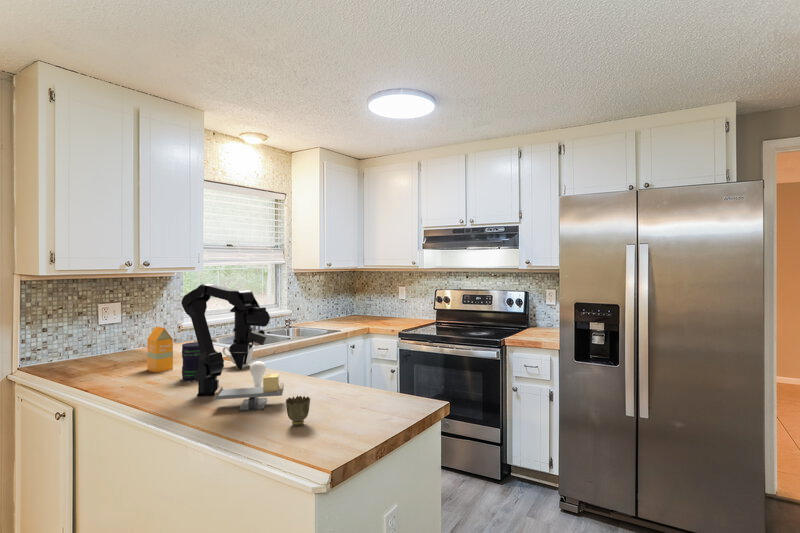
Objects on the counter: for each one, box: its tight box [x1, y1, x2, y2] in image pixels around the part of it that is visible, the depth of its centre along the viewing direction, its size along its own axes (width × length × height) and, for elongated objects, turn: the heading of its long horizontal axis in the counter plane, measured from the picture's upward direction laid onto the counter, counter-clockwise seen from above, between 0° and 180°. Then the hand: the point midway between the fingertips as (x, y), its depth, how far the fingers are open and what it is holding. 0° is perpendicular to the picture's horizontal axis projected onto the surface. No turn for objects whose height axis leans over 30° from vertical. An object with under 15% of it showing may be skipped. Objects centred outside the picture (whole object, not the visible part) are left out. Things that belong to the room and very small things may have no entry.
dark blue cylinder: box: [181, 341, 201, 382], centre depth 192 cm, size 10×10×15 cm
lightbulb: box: [249, 360, 267, 388], centre depth 176 cm, size 6×6×11 cm
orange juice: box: [146, 326, 174, 373], centre depth 207 cm, size 8×9×20 cm
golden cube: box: [262, 373, 280, 392], centre depth 156 cm, size 5×5×5 cm
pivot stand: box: [238, 397, 268, 413], centre depth 155 cm, size 8×12×4 cm, turn 11°
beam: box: [214, 382, 285, 401], centre depth 155 cm, size 22×8×2 cm, turn 101°
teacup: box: [222, 344, 255, 368], centre depth 214 cm, size 12×15×10 cm
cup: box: [285, 395, 311, 427], centre depth 137 cm, size 8×7×8 cm
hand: (242, 367), depth 162 cm, fingers open, 9 cm apart
